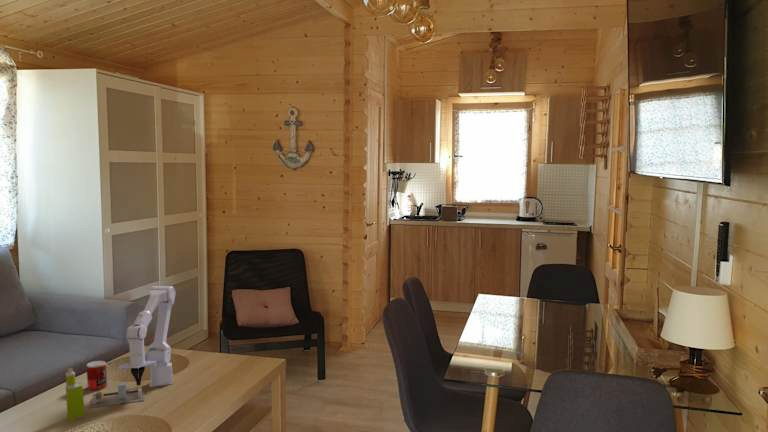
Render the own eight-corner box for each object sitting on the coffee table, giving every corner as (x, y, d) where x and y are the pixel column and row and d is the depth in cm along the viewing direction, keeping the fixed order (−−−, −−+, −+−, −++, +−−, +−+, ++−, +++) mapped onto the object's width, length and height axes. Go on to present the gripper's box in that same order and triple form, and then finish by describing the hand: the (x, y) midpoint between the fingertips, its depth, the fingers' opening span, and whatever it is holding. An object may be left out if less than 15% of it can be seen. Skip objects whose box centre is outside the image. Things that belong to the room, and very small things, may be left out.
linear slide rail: (145, 392, 251) (144, 382, 251) (144, 400, 242) (143, 391, 242) (91, 399, 244) (91, 389, 244) (88, 408, 235) (87, 398, 235)
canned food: (99, 391, 253) (98, 366, 252) (83, 390, 255) (82, 365, 254) (111, 384, 261) (109, 361, 260) (95, 383, 262) (94, 360, 261)
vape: (66, 418, 226) (62, 368, 225) (81, 413, 231) (78, 364, 229) (69, 420, 224) (66, 371, 222) (85, 415, 228) (82, 366, 227)
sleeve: (127, 394, 246) (126, 382, 245) (126, 397, 243) (125, 385, 242) (119, 395, 245) (118, 383, 244) (118, 398, 242) (117, 386, 241)
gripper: (117, 358, 238) (119, 390, 239) (155, 354, 243) (156, 385, 244) (119, 353, 245) (120, 384, 246) (155, 349, 250) (157, 379, 251)
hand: (138, 384), depth 246 cm, fingers closed
